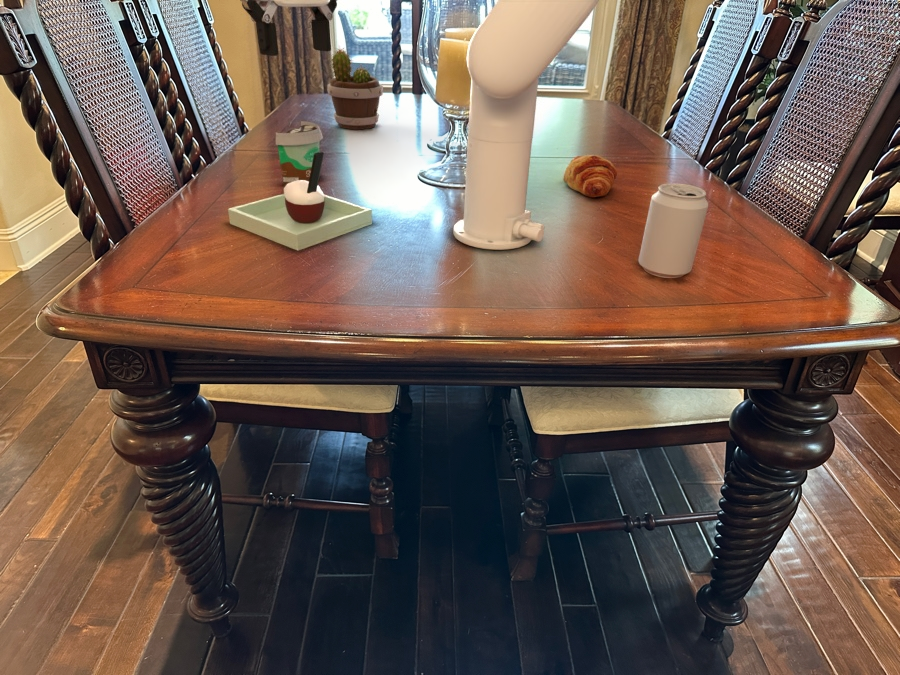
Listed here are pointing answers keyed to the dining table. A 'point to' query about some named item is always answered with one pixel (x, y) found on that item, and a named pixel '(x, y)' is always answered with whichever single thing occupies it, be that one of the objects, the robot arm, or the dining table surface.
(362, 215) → the tray
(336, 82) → the flowerpot
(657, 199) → the can
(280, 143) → the food container
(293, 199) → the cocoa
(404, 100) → the dining table surface
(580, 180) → the croissant
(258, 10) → the robot arm
